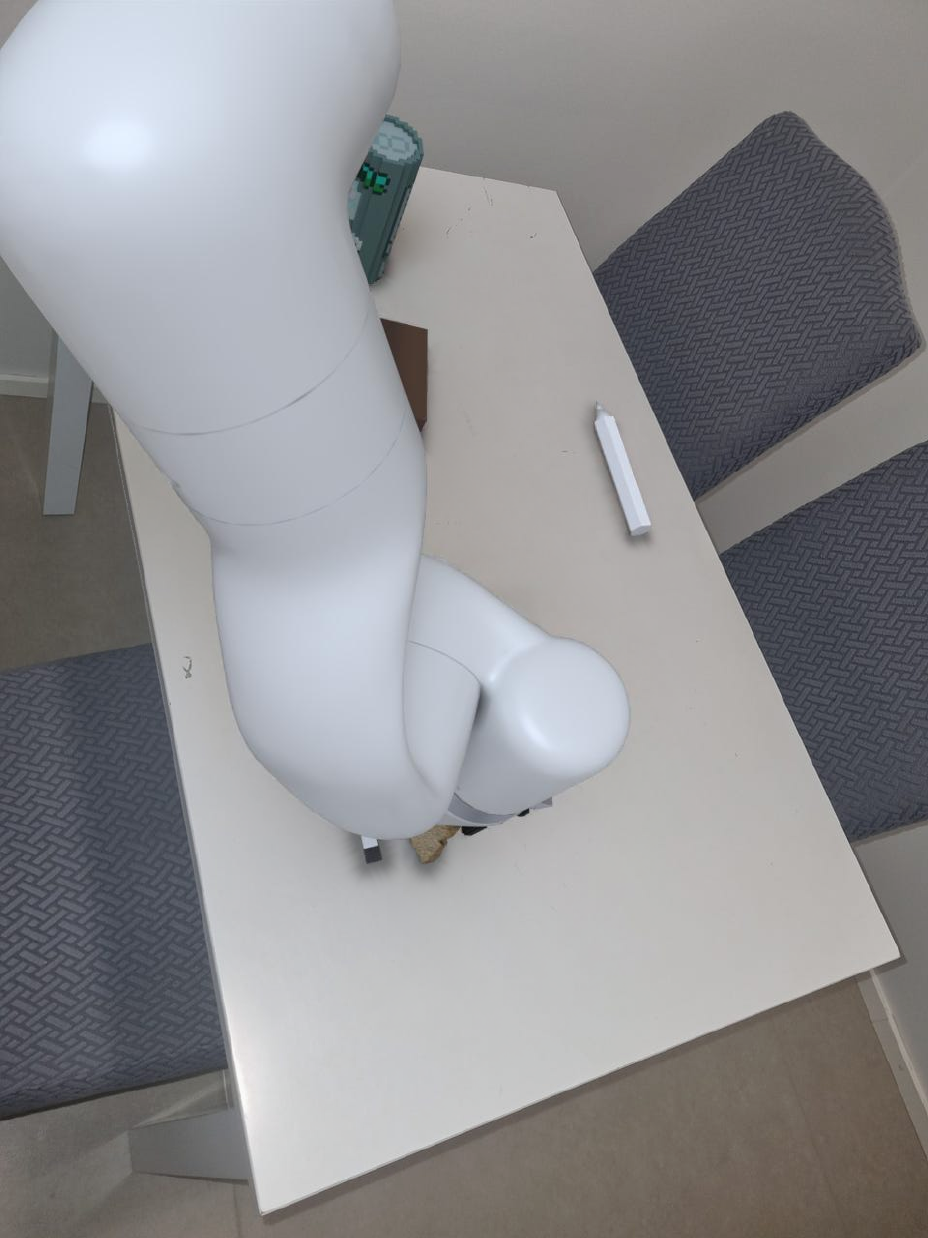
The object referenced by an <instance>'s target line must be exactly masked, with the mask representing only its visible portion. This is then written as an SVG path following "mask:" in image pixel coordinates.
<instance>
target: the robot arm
mask: <svg viewBox="0 0 928 1238" xmlns="http://www.w3.org/2000/svg"><path fill="white" fill-rule="evenodd" d="M401 39H402V37H401V26H400V21H399V17H398V11H397V9H396V3H395V0H37V1H36V2H35V3H34V5H33V6H32V7H31V8H30V9H29V10H28V11H27V12H26V13H25V15H24V16H23V18H22V19H21V20H20V21H19V22H18V24H17V25H16V27H15V28H14V30H13V31H12V33H11V34H10V35H9V36H8V38H7V40H6V41H5V42H4V44H3V45H2V46H1V48H0V257H1V258H2V260H3V261H4V263H5V264H6V265H7V267H8V269H9V270H10V272H11V273H12V274H13V276H14V277H15V278H16V280H17V282H18V283H19V284H20V285H21V287H22V289H24V291H25V292H26V294H27V295H28V297H29V298H30V299H31V301H32V303H34V304H35V306H36V307H37V309H38V310H39V311H40V313H41V314H42V315H43V317H44V318H45V319H46V321H47V322H48V324H50V326H51V327H52V329H53V330H54V331H55V333H56V334H57V336H59V338H60V340H61V341H62V343H64V345H65V346H66V347H67V349H68V351H70V353H71V354H72V356H73V357H74V358H75V360H76V361H77V362H78V363H79V365H80V366H81V367H82V369H83V371H85V373H86V374H87V376H88V377H89V378H90V380H91V381H92V383H93V384H94V385H95V386H96V388H97V389H98V391H99V392H100V393H101V394H102V396H103V397H104V399H105V400H106V401H107V403H108V404H109V405H110V406H111V408H112V409H113V410H114V412H115V413H116V415H118V417H119V419H120V420H121V421H122V422H123V424H124V425H125V426H126V427H127V429H128V430H129V431H130V433H131V434H132V436H133V437H134V438H135V440H136V442H138V444H139V445H140V446H141V448H142V449H143V451H144V452H145V453H146V454H147V456H148V457H149V459H150V460H151V461H152V463H153V464H154V465H155V467H156V468H157V469H158V471H159V472H160V474H161V475H162V476H163V478H165V479H166V480H167V482H168V483H169V484H170V485H171V486H172V489H173V491H174V492H175V494H176V495H177V497H178V498H179V499H180V500H181V502H182V503H183V505H185V507H186V508H187V510H188V511H189V512H190V513H191V515H192V516H193V517H194V519H195V520H196V521H197V522H198V524H199V525H200V526H201V527H202V529H203V531H204V532H205V533H206V535H207V537H208V539H209V546H210V562H211V563H210V564H211V565H210V566H211V567H210V568H211V585H212V595H213V605H214V611H215V612H214V614H215V622H216V628H217V633H218V640H219V645H220V651H221V657H222V664H223V672H224V676H225V682H226V687H227V692H228V696H229V702H230V706H231V711H232V713H233V716H234V719H235V722H236V723H235V724H236V726H237V728H238V730H239V733H240V735H241V736H242V739H243V741H244V744H245V745H246V747H247V748H248V750H249V752H250V753H251V754H252V756H253V757H254V758H255V760H256V761H257V762H258V763H259V764H260V765H261V766H262V768H264V770H266V771H267V773H269V775H271V776H272V777H273V778H274V779H275V780H276V781H277V782H278V783H279V784H280V785H281V786H282V787H283V788H284V789H285V790H286V791H287V792H288V793H290V794H291V795H292V796H293V797H294V798H296V799H297V801H299V802H300V803H301V804H303V805H304V806H305V807H306V808H307V809H309V810H310V811H312V812H313V813H314V814H316V815H317V816H319V817H321V819H323V820H325V821H327V822H328V823H330V824H331V825H333V826H336V827H337V828H340V829H342V830H344V831H346V832H349V833H352V834H354V835H358V836H360V837H361V836H364V837H368V838H373V839H377V840H381V841H400V840H406V839H410V838H412V837H415V836H418V835H420V834H423V833H425V832H426V831H428V830H430V829H431V828H433V827H434V826H435V825H454V826H461V834H462V835H463V836H464V837H466V836H467V837H472V836H474V835H476V834H478V833H480V832H482V831H485V830H487V829H488V827H495V826H499V825H503V824H504V823H506V822H508V821H510V820H512V819H513V818H515V817H518V818H525V817H526V816H527V815H529V814H530V810H532V811H537V810H542V809H547V808H552V807H553V797H555V796H556V795H559V794H561V793H563V792H565V791H567V790H569V789H571V788H572V787H575V786H577V785H579V784H581V783H583V782H585V781H587V780H590V779H591V778H593V777H595V776H597V775H598V774H600V773H601V772H602V771H604V770H605V769H607V768H608V767H610V765H611V764H613V763H614V761H615V760H616V759H617V758H618V756H619V755H620V753H621V752H622V750H623V748H624V747H625V744H626V742H627V739H628V736H629V732H630V728H631V722H632V721H631V719H632V717H631V716H632V713H631V712H632V709H631V703H630V698H629V694H628V691H627V688H626V686H625V683H624V681H623V679H622V677H621V676H620V674H619V672H618V671H617V669H616V668H615V667H614V665H613V663H611V662H610V661H609V660H608V659H607V658H606V657H605V656H604V655H603V654H602V653H600V652H599V651H598V650H597V649H595V648H594V647H593V646H590V645H588V644H587V643H585V642H583V641H580V640H577V639H574V638H571V637H565V636H557V635H554V634H551V632H549V631H547V630H546V629H545V628H543V627H541V626H540V625H539V624H537V623H535V622H534V621H532V620H531V619H530V618H528V617H527V616H525V615H523V613H521V612H519V611H518V610H517V609H516V608H514V607H512V606H511V605H510V604H509V603H507V602H506V601H504V600H503V599H502V598H500V597H499V596H498V595H496V594H495V593H493V592H492V591H491V590H490V589H488V588H487V587H486V586H484V585H483V584H481V582H479V581H477V580H476V579H475V578H473V577H471V576H470V575H469V574H467V573H466V572H464V571H462V569H460V568H459V566H456V565H455V564H454V563H452V562H451V561H448V560H446V559H444V558H441V557H439V556H435V555H432V554H431V555H430V554H425V553H423V546H424V537H425V527H426V519H427V500H428V499H427V498H428V465H427V455H426V448H425V445H424V440H423V437H422V435H421V433H420V431H419V428H418V426H417V423H416V421H415V418H414V415H413V413H412V410H411V407H410V404H409V401H408V399H407V396H406V393H405V390H404V387H403V384H402V381H401V379H400V376H399V373H398V370H397V367H396V364H395V361H394V358H393V355H392V352H391V350H390V347H389V344H388V341H387V338H386V335H385V332H384V329H383V326H382V323H381V321H380V318H381V317H380V315H379V312H378V309H377V306H376V304H375V301H374V298H373V295H372V292H371V289H370V285H369V283H368V281H367V278H366V275H365V272H364V270H363V267H362V264H361V261H360V258H359V255H358V252H357V249H356V246H355V243H354V240H353V237H352V234H351V230H350V225H349V217H348V209H347V206H348V198H349V191H350V189H351V186H352V184H353V182H354V180H355V178H356V176H357V174H358V172H359V170H360V168H361V166H362V164H363V162H364V160H365V158H366V156H367V154H368V152H369V150H370V148H371V146H372V144H373V141H374V139H375V137H376V135H377V133H378V131H379V129H380V127H381V125H382V123H383V120H384V118H385V116H386V115H388V111H389V109H390V107H391V105H392V103H393V101H394V98H395V95H396V91H397V86H398V83H399V76H400V73H401V69H402V68H401V67H402V41H401Z"/></svg>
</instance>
